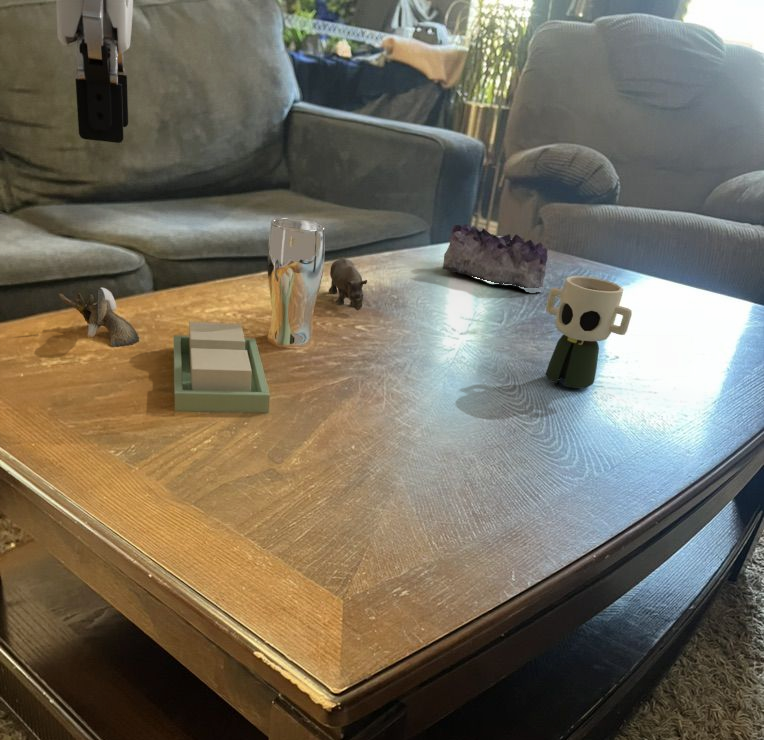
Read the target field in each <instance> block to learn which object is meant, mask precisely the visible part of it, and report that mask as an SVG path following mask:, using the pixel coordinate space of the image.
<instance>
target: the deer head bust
mask: <svg viewBox="0 0 764 740" xmlns="http://www.w3.org/2000/svg"><path fill="white" fill-rule="evenodd" d="M58 297H59V298H60V299H61V301H63V303H65V304H66V305H68V306H70V307H73V308H74V309H75V310H76V311H78V312H79V313H80V314H81V315H82V317H83V319H84V321H85V322H86V324H87V325H88V327H87V333H86V338H87V339H91V338H93V337H95V335H96V333H97V331H98V329H99V328H101V327H105V328H106V329H107V331H108V334H109V337H110V338H109V339H110V341H109V342H110V346H111V348H120V347H129V346H134V344H135V345H136V344H137V343H139V342H140V337H139V334H138V332H137V331H136V329H135V327H133V326H132V324H131V323H130V322H129V321H127V320H126V319H125V318H123V317H122V316H120V315H119V314H118V313H116V312H115V311H116V310H117V303H116V300H115V297H114V296H113V293H112V292H111V291H110V290H109V289H108V288H105V287H100V288H98V289H97V298H96V303H95V299H94V296H93V295H92V294H89V299H88V302H87V303H86V304H85V301H84V298H83V297H82V294H81V293H80V292H78V293H77V294H76V295H75V302H74V301H73V300H71V299H69V298H67V297H66V296H65V295H64V294H63V293H58Z"/></svg>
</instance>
